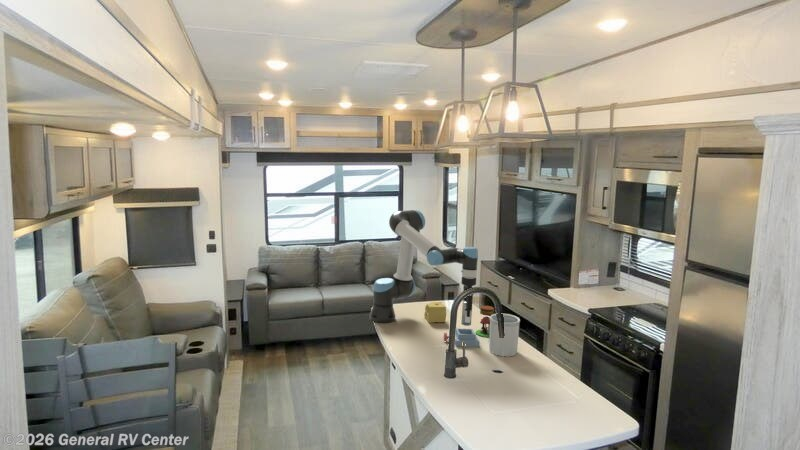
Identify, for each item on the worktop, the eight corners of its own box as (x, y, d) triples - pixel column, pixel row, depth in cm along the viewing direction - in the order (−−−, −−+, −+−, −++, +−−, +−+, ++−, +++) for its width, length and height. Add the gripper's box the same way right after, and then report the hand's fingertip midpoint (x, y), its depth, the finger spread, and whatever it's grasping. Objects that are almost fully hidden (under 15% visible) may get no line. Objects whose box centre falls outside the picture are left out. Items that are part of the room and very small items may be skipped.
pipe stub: (460, 322, 259) (462, 300, 258) (470, 322, 259) (471, 300, 258) (462, 325, 254) (463, 303, 253) (471, 325, 254) (473, 303, 253)
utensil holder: (491, 357, 239) (493, 322, 237) (484, 345, 254) (487, 312, 252) (521, 357, 240) (523, 323, 238) (513, 346, 255) (515, 313, 252)
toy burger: (472, 336, 267) (474, 309, 265) (476, 329, 279) (478, 303, 277) (494, 339, 263) (496, 312, 261) (497, 332, 275) (499, 306, 273)
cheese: (424, 317, 294) (424, 301, 293) (441, 317, 296) (442, 301, 295) (428, 323, 284) (429, 306, 283) (446, 323, 286) (447, 306, 285)
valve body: (442, 337, 265) (442, 326, 264) (473, 338, 265) (474, 327, 265) (445, 347, 251) (446, 335, 250) (478, 347, 252) (479, 336, 251)
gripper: (459, 272, 262) (456, 314, 265) (464, 281, 244) (462, 326, 247) (472, 273, 263) (470, 315, 266) (479, 281, 245) (477, 326, 248)
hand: (466, 320), depth 256 cm, fingers closed on pipe stub, 5 cm apart
